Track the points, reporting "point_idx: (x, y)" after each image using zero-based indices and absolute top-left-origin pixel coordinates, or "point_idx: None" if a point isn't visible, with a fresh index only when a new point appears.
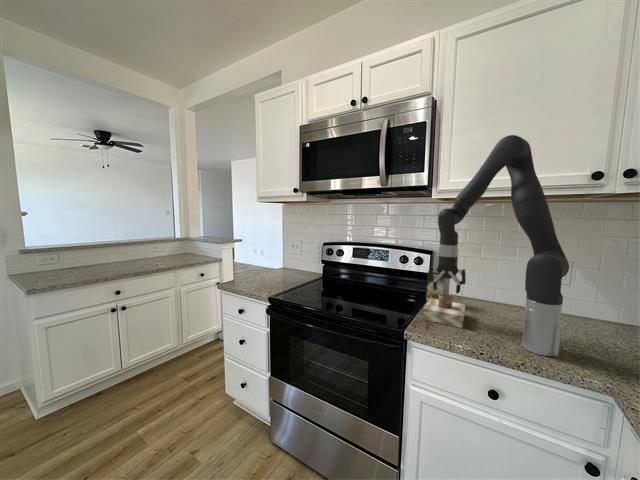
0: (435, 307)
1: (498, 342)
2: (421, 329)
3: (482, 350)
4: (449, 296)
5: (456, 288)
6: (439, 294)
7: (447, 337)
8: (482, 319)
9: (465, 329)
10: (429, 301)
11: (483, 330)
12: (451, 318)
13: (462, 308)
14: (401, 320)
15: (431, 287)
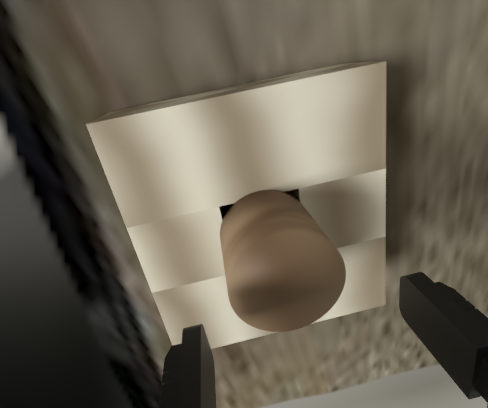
0: (225, 295)
1: (476, 284)
2: (225, 384)
3: (423, 366)
4: (323, 288)
5: (437, 357)
6: (235, 301)
7: (321, 370)
8: (441, 59)
9: None
10: (133, 215)
11: (436, 219)
12: None
13: (373, 184)
14: (118, 378)
15: None
